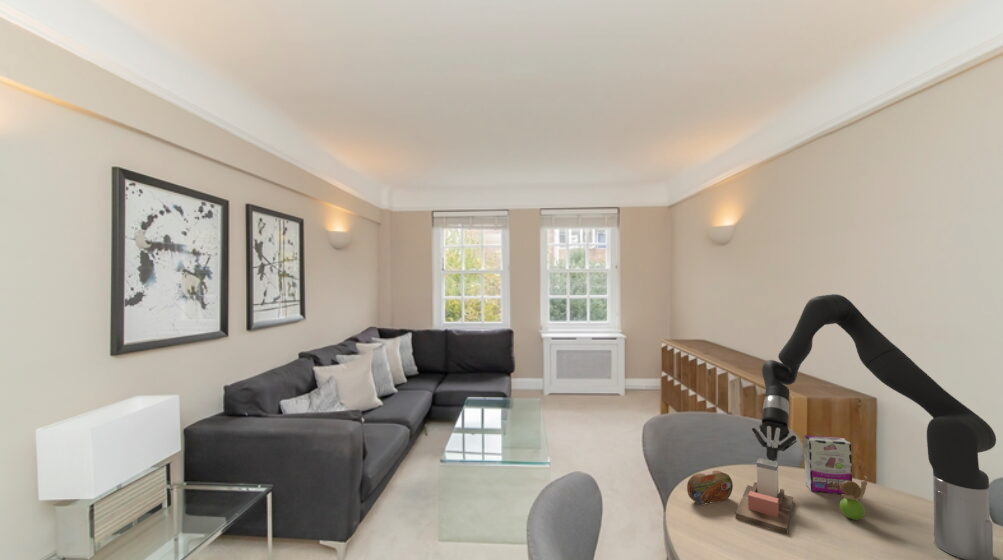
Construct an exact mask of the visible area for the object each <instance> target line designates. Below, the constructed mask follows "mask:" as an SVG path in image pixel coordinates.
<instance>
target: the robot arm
mask: <svg viewBox="0 0 1003 560" xmlns="http://www.w3.org/2000/svg"><path fill="white" fill-rule="evenodd" d="M833 324H834V325H835V324H836V325H838V326H839V327H840V328H841V329H843V330H844V332H846V334H847V335H849V337H851V339H852V340H853V342H854V346H855V348H856V352H857V354H858V357H859V360H860V361H861V363H862V364H863V365H864V366H865V368H866V369H868V370H869V372H870V373H871V374H872V375H873V376H875V377H876V378H877V379H878V380H879V381H880V382H881V383H883V384H884V385H885V386H887V387H888V388H890V389H892V390H893V391H895V392H897V393H898V394H900V395H902V396H904V397H906V398H907V399H909V400H911V402H912V401H913V402H914V403H916V404H917V405H919V406H920V407H921V408H922V409H923V410H924V411H926V413H928V414H929V415H930V416H931V418H932V419H930V421H929V422H928V424H927V428H926V443H927V456H928V462H929V464H930V466H931V468H932V480H933V481H932V486H933V487H932V488H933V494H932V495H933V497H932V498H933V538H934V544H935V546H937V548H939V549H940V550H942V551H944V552H945V553H948V554H950V555H952V556H954V557H956V558H958V559H961V560H962V559H963V560H994V534H993V532H994V531H993V530H994V529H993V528H994V527H993V523H992V521H991V519H990V518H991V517H990V477H989V476H988V474H987V473H985V472H984V471H983V470H981V469H980V466H979V453H982V452H987V451H989V450H991V449H993V448H994V447H995V446H996V443H997V437H996V434H995V431H994V429H993V428H992V427H991V426H990V424H989V423H987V422H986V420H984V419H983V418H981V417H980V415H978V414H976V413H975V412H974V411H972V410H971V409H970V408H969V407H967V406H966V405H965V404H963V403H962V402H961V401H959V400H958V399H957V398H955V397H954V396H953V395H952V394H950V392H948V391H947V390H945V389H944V388H943V387H942V386H941V385H939V383H938V382H936V381H935V380H934V379H933V378H932V377H931V376H930V375H929V374H927V372H925V371H924V370H923V369H922V368H920V367H919V365H917V364H916V363H915V362H914V361H913V360H912V359H911V358H910V357H909V356H908V355H907V354H906V353H904V351H902V350H901V349H900V347H898V346H897V345H895V344H894V343H892V342H891V340H889V339H888V337H886V336H885V335H884V334H883V333H882V332H881V331H880V330H878V329H877V328H876V327H875V326H874V325H873V324H872V323H871V322H870V321H869V320H868V319H867V318H866V317H865V316H864V315H863V313H862V312H861V311H860V310H859V309H858V307H856V305H855V304H853V302H851V301H850V299H848V298H847V297H845V296H844V295H841V294H836V293H835V294H834V293H833V294H827V295H826V294H824V295H819V296H814V297H811V298H810V299H809V300H808V301H807V302H806V304H805V306H804V308H803V310H802V313H801V315H800V317H799V319H798V322H797V324H796V326H795V328H794V330H793V332H792V334H791V336H790V338H789V339H788V340H787V342H786V343H785V345H784V346H783V348H781V350H780V351H779V353H778V360H779V361H776V360H774V359H769V360H766V361H765V362H764V363H763V364H762V367H761V368H762V369H761V374H762V377H763V382H764V386H765V396H764V400H763V405H762V406H763V407H762V415H761V423H760V424H759V427H756V428H755V427H752V428H751V431H752V434H753V436H754V437H755V438H756V440H757V441H758V443H759V444H760V446H761V447H763V448H765V449H766V458H767V460H771V461H775V462H776V461H777V460H778V453H779V451H782V452H785V451H786V450H788V449H789V448H790V447H792V446H793V445H794V444H796V443H797V436H796V435H793V434H792V433H790V430H789V423H790V422H789V420H790V389H789V388H788V387H787V386H789V385H792V384H794V383H795V382H796V380H797V376H798V374H799V373H798V372H799V369H800V367H801V365H802V363H803V362H804V361H805V360H806V358H807V357H808V356H809V355H810V353H811V351H812V349H813V340H814V337H815V335H816V333H817V332H818V331H820V329H822V328H823V327H824V326H826V325H833ZM761 433H762V434H763V436H762V435H761ZM763 437H764V438H765V439H766V441H765V439H764V438H763ZM784 440H785V441H784ZM782 441H783V442H782ZM781 442H782V443H781Z"/></svg>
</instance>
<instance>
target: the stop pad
mask: <svg viewBox="0 0 1003 560" xmlns="http://www.w3.org/2000/svg"><path fill="white" fill-rule="evenodd" d="M748 509H750V510H753V511H757V512H760V513H764V514H767V515H771V516H774V517H777V518H778V514H779V499H778V498H775V497H771V496H767V495H763V494H760V493H756V492H752V491H750V492H749V494H748Z"/></svg>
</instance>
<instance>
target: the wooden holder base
mask: <svg viewBox="0 0 1003 560" xmlns="http://www.w3.org/2000/svg"><path fill="white" fill-rule="evenodd" d="M750 491H752V492H756V493H757V481H756V482H755V481H754V482H753V485H752V486H751V485H749V484H748V485H746V488H745V490H744V492H743V494H742V497H741V499H740V500H739V501H740V502H739V504H738V507H737V508H736V511H735V519H737V520H740V521H743V522H747V523H750V524H752V525H756V526H759V527H762V528H765V529H769V530H771V531H776V532H779V533H780V534H781V533H782V534H784V535H785V534H786V535H788V533H789V526H790V521H791V517H792V510H793V506H794V496H791V495H788V494H787V495H786V494H785V489H784V488H780V489H779V495H778V499H779V514H778V518H777V517H774V516H771V515H767V514H764V513H760V512H757V511H753V510H750V509H748V494H749V492H750Z"/></svg>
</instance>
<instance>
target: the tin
mask: <svg viewBox="0 0 1003 560" xmlns="http://www.w3.org/2000/svg"><path fill="white" fill-rule="evenodd" d="M733 486H734V485H733V480H732V478H731V476H730V475H729V474H727V473H725V472H723V471H721V470H711V471H706V472H701V473H696V474H693V475H692V476H691V477H690V478H689V479H688V481H687V487H686V492H687V494H688V497H689V498H690V499H691V500H692V502H695V503H696V504H697V505H700V506H703V505H702V504H705V503H710V502H715V503H718V502H719V501H720V502H724V501H726V500H727V499H728V498H730V496H731V495H732V491H733ZM710 504H711V503H710Z"/></svg>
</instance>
